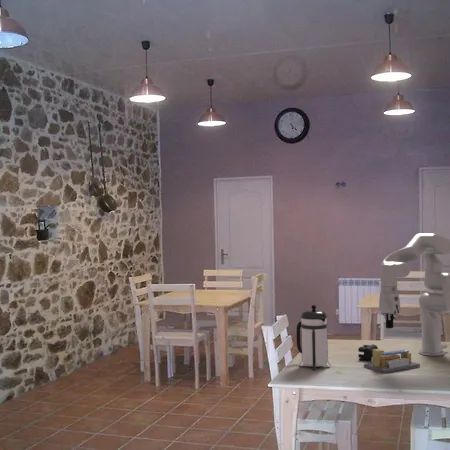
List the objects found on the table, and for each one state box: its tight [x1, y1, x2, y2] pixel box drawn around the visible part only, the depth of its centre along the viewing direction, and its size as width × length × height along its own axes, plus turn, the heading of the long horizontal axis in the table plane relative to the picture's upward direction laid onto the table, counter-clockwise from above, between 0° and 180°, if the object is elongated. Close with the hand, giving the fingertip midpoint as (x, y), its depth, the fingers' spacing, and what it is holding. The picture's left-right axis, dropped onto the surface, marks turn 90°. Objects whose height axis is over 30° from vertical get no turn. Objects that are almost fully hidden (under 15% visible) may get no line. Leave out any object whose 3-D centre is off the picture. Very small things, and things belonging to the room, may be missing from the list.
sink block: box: [363, 348, 421, 374], centre depth 297 cm, size 22×14×9 cm, turn 117°
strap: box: [381, 349, 410, 356], centre depth 297 cm, size 16×3×1 cm, turn 117°
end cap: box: [358, 344, 379, 362], centre depth 315 cm, size 10×7×7 cm
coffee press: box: [296, 304, 331, 371], centre depth 301 cm, size 17×16×30 cm
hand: (389, 327), depth 296 cm, fingers closed
